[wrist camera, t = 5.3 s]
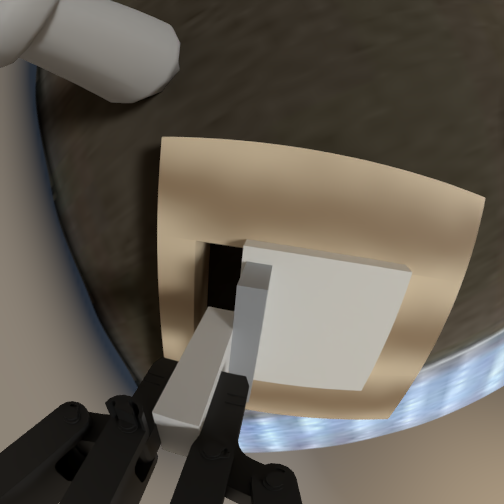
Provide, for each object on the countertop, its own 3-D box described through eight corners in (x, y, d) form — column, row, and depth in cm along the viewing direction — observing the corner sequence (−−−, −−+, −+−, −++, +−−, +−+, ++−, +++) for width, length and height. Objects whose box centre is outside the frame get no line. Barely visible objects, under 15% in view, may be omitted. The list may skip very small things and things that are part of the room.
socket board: (183, 139, 15) (161, 136, 12) (459, 189, 14) (485, 197, 11) (180, 367, 22) (168, 390, 19) (381, 394, 20) (387, 418, 17)
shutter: (246, 239, 14) (232, 266, 10) (405, 264, 13) (432, 295, 10) (233, 364, 17) (221, 405, 13) (359, 380, 16) (367, 419, 12)
